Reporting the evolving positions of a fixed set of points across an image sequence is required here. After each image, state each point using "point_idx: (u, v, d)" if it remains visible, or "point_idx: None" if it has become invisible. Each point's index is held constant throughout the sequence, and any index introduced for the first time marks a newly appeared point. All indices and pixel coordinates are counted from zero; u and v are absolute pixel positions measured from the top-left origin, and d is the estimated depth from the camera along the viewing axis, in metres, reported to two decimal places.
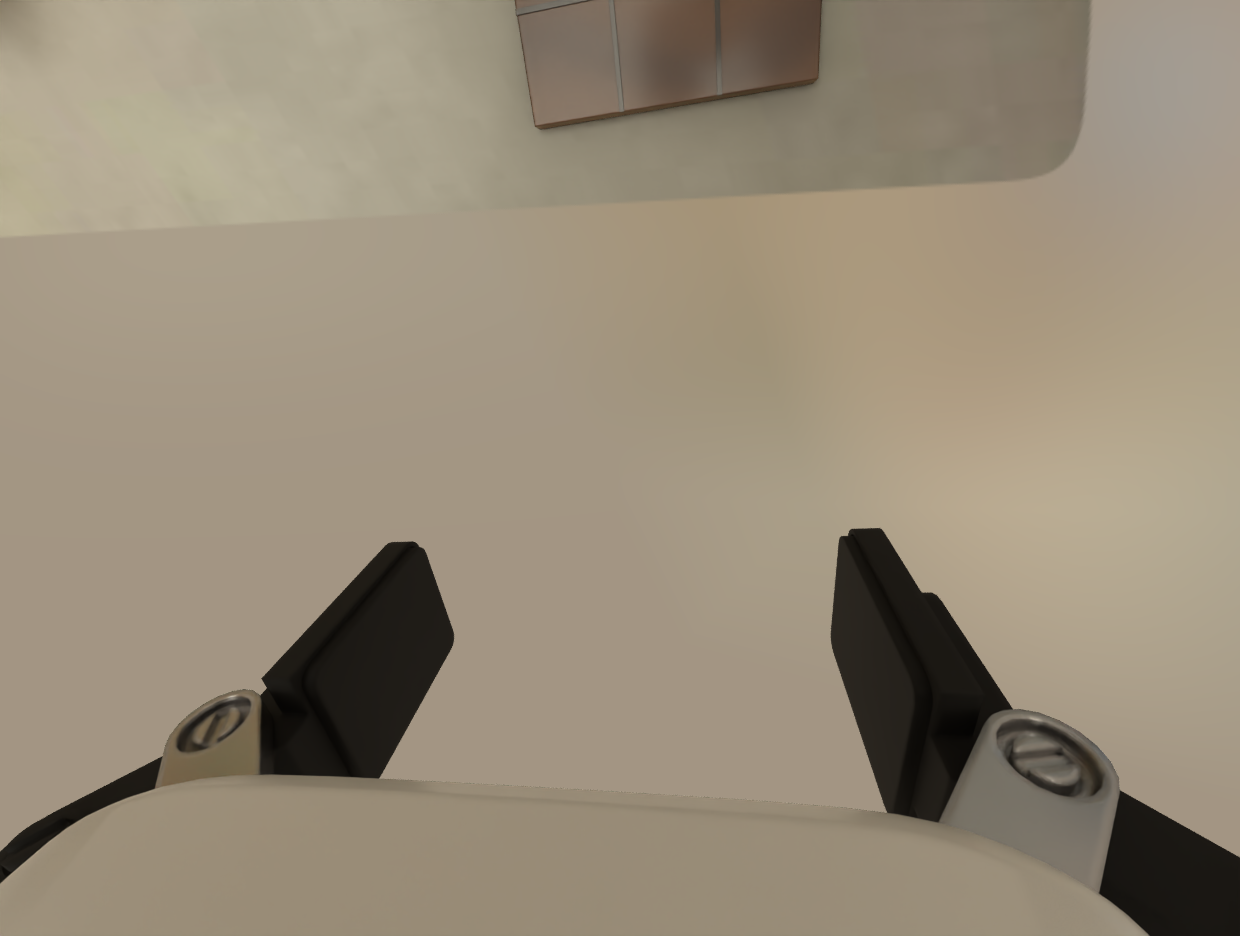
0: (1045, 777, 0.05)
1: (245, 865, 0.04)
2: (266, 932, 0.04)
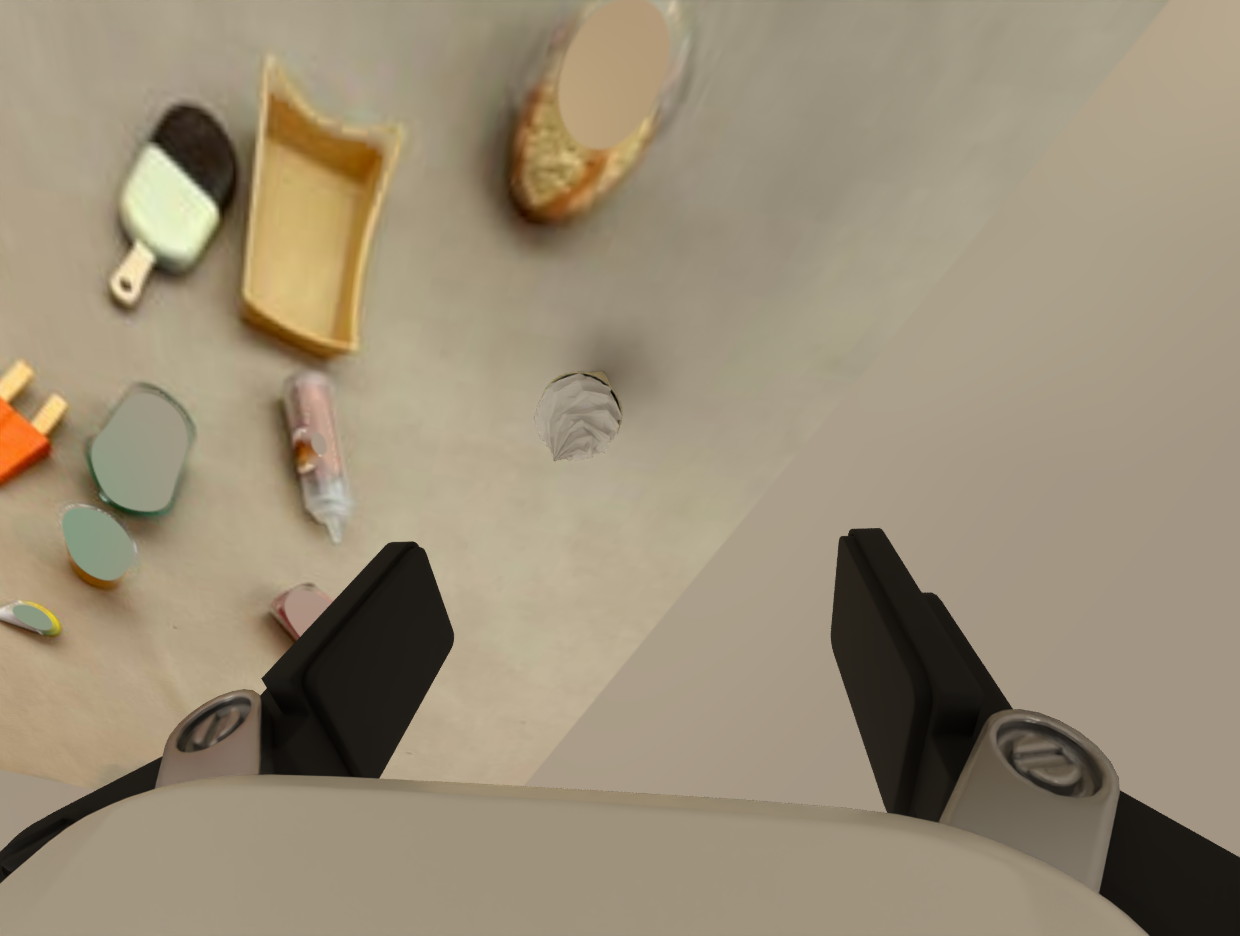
0: (1046, 778, 0.05)
1: (245, 865, 0.04)
2: (266, 932, 0.04)
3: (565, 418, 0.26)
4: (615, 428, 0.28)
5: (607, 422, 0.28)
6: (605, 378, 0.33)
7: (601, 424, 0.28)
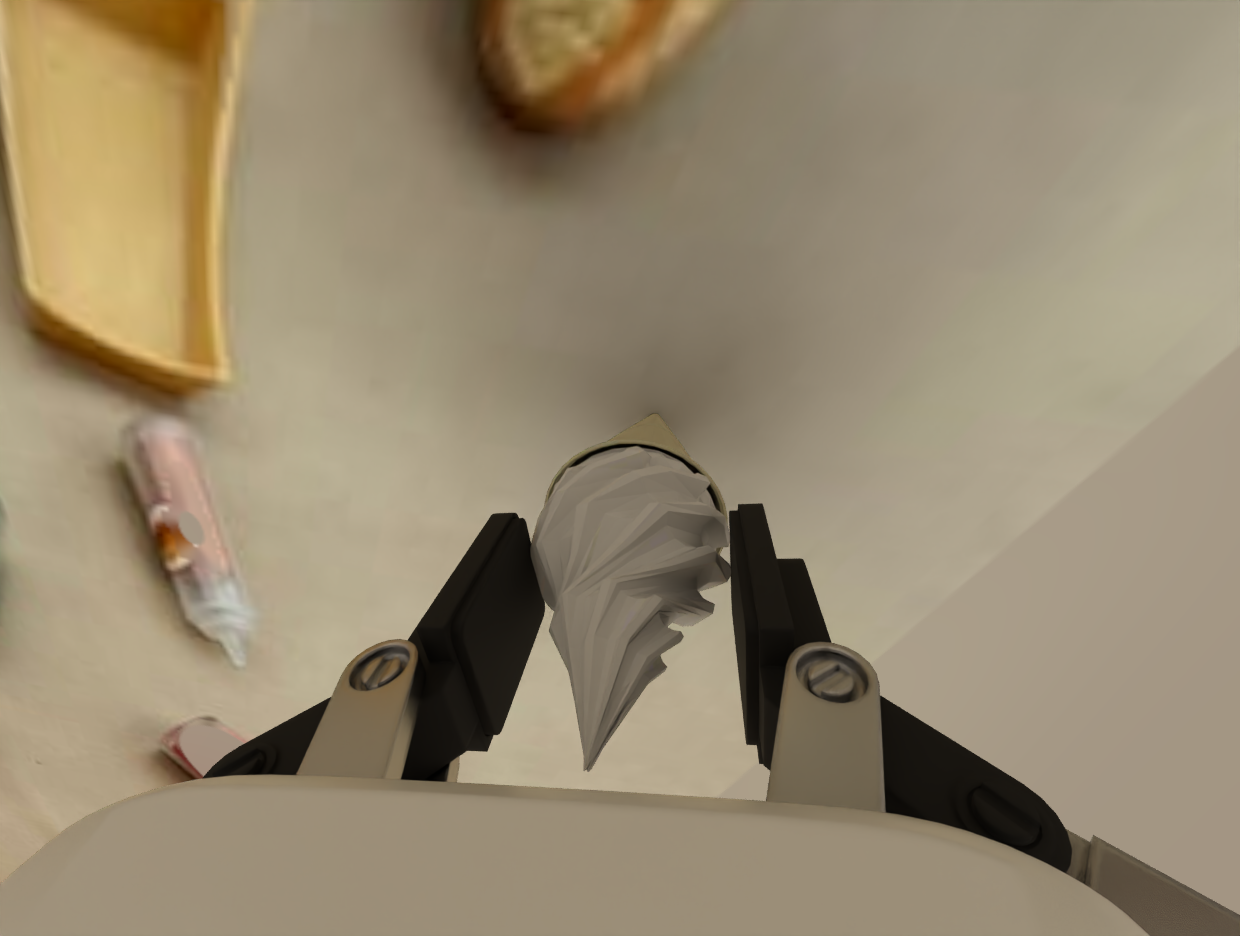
0: (833, 692, 0.07)
1: (245, 865, 0.04)
2: (266, 932, 0.04)
3: (611, 592, 0.09)
4: (724, 579, 0.12)
5: (708, 571, 0.11)
6: (674, 436, 0.17)
7: (695, 578, 0.11)
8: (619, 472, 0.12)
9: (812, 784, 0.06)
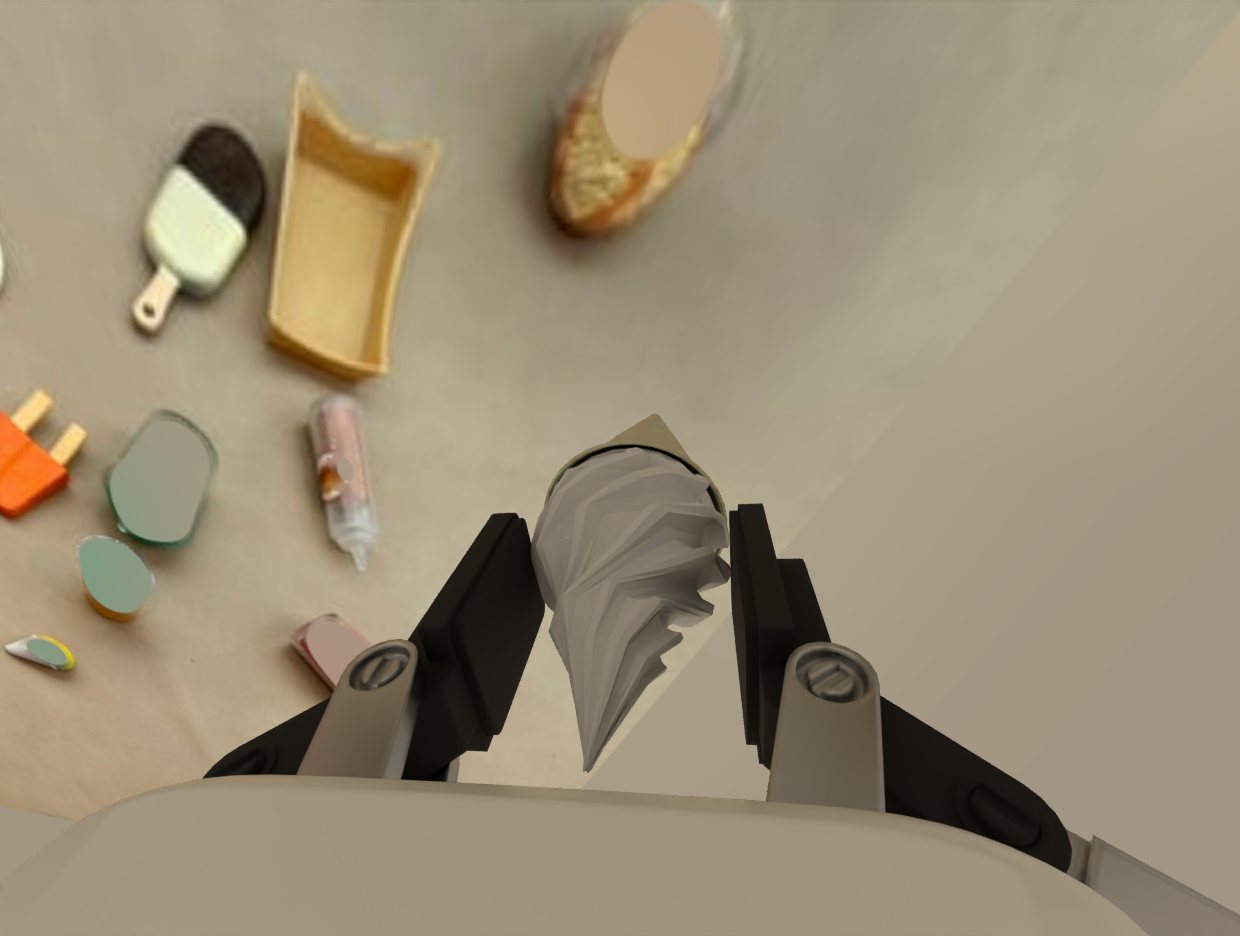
0: (833, 691, 0.07)
1: (245, 865, 0.04)
2: (266, 932, 0.04)
3: (611, 593, 0.09)
4: (724, 580, 0.12)
5: (708, 572, 0.11)
6: (673, 437, 0.17)
7: (694, 579, 0.11)
8: (619, 473, 0.12)
9: (812, 784, 0.06)
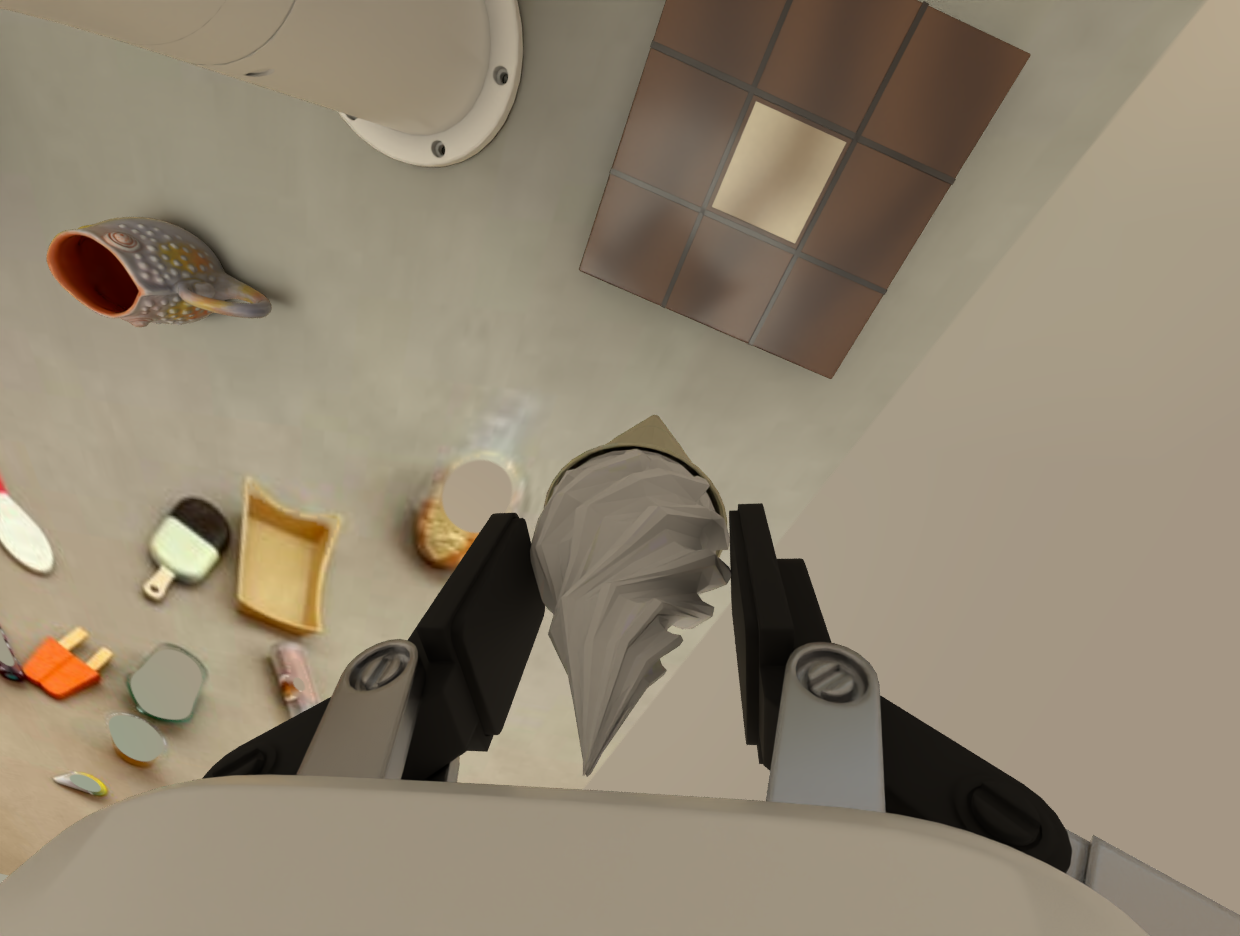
0: (833, 692, 0.07)
1: (245, 865, 0.04)
2: (266, 932, 0.04)
3: (611, 596, 0.09)
4: (724, 582, 0.12)
5: (708, 574, 0.11)
6: (673, 438, 0.17)
7: (694, 581, 0.11)
8: (618, 475, 0.12)
9: (812, 784, 0.06)
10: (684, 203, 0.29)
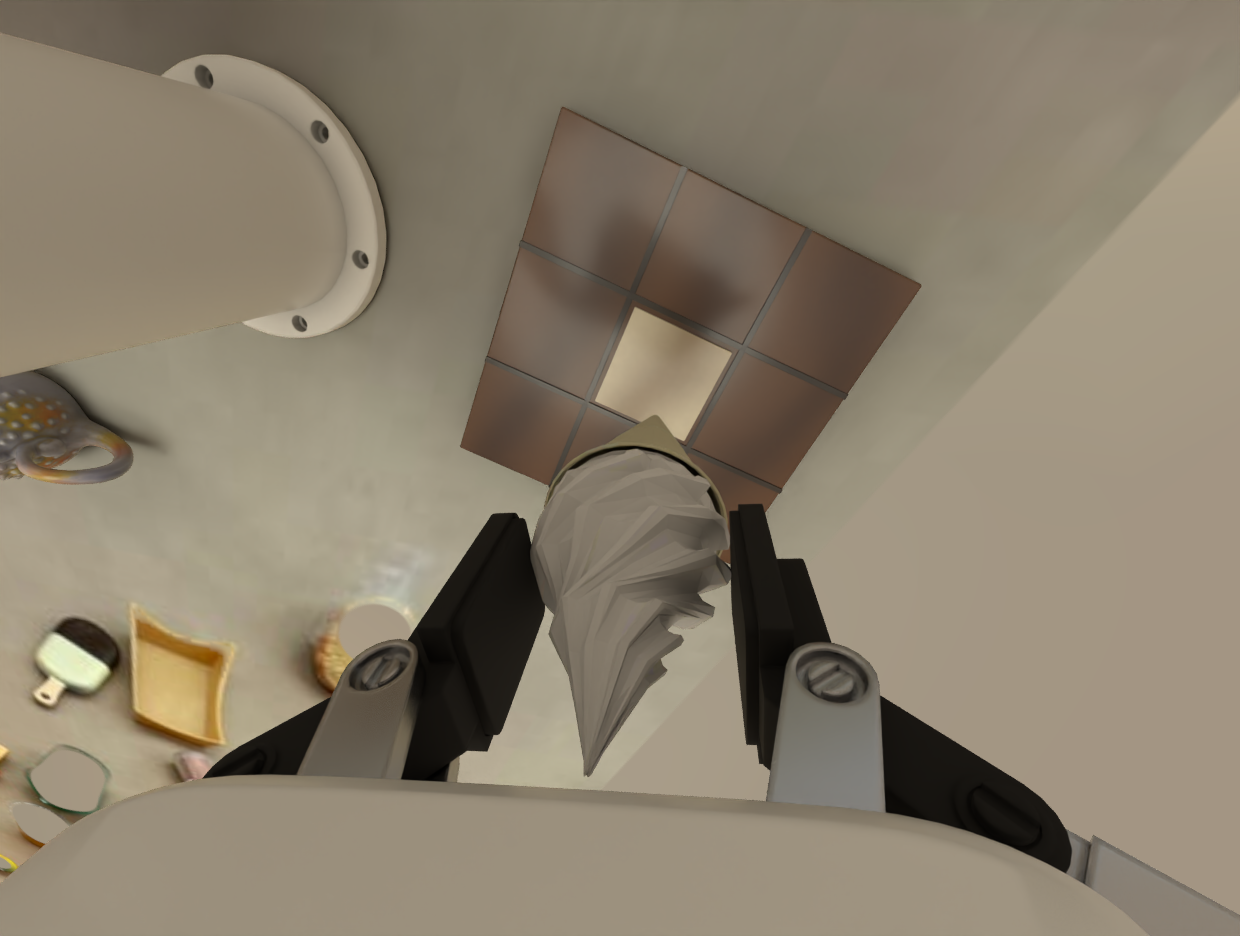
0: (833, 692, 0.07)
1: (245, 865, 0.04)
2: (266, 932, 0.04)
3: (611, 596, 0.09)
4: (724, 582, 0.12)
5: (709, 574, 0.11)
6: (674, 438, 0.17)
7: (695, 581, 0.11)
8: (619, 475, 0.12)
9: (812, 784, 0.06)
10: (566, 394, 0.27)
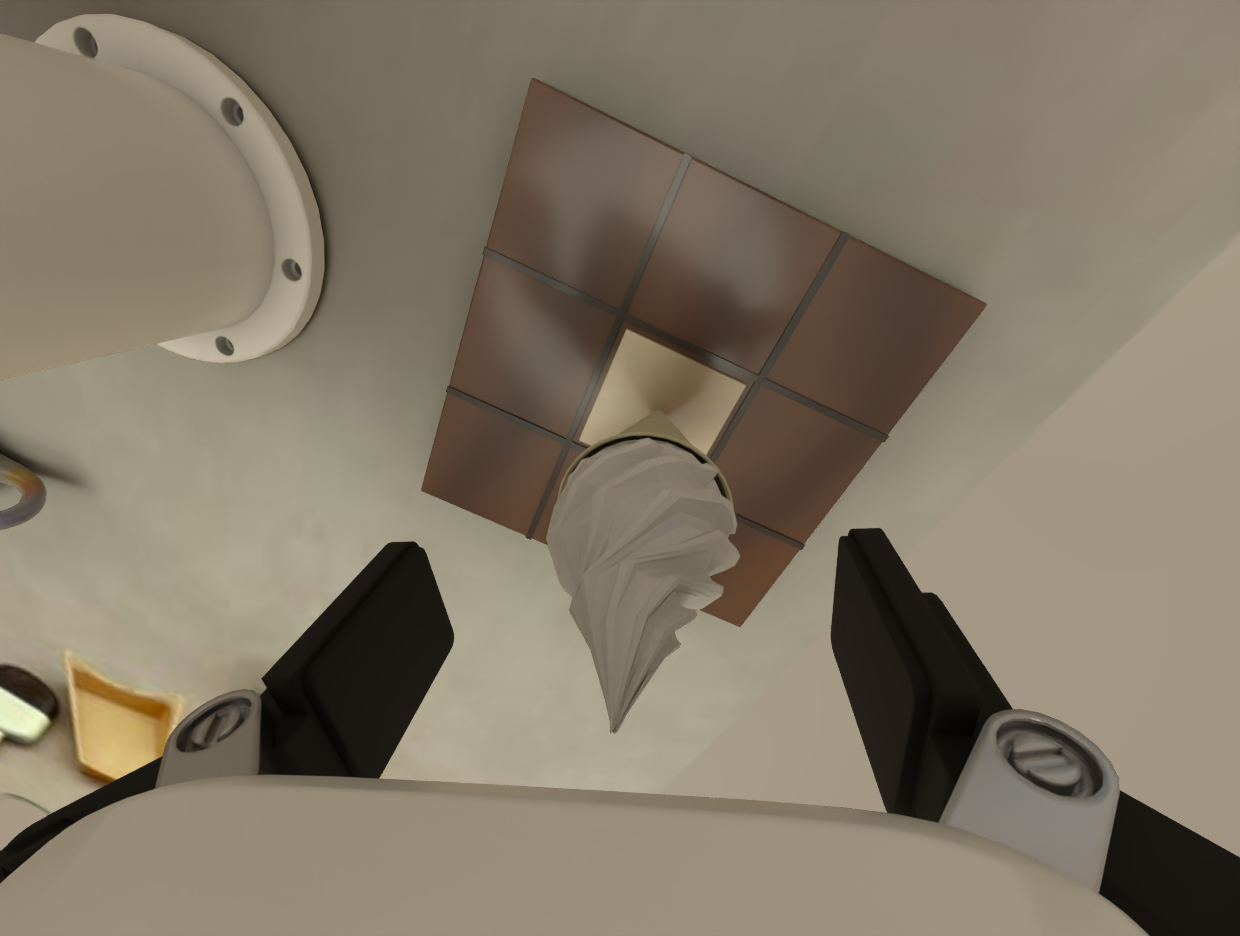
0: (1045, 776, 0.05)
1: (245, 865, 0.04)
2: (266, 932, 0.04)
3: (630, 572, 0.10)
4: (732, 563, 0.12)
5: (718, 555, 0.12)
6: (679, 431, 0.17)
7: (705, 562, 0.12)
8: (632, 462, 0.12)
9: None
10: (544, 432, 0.23)
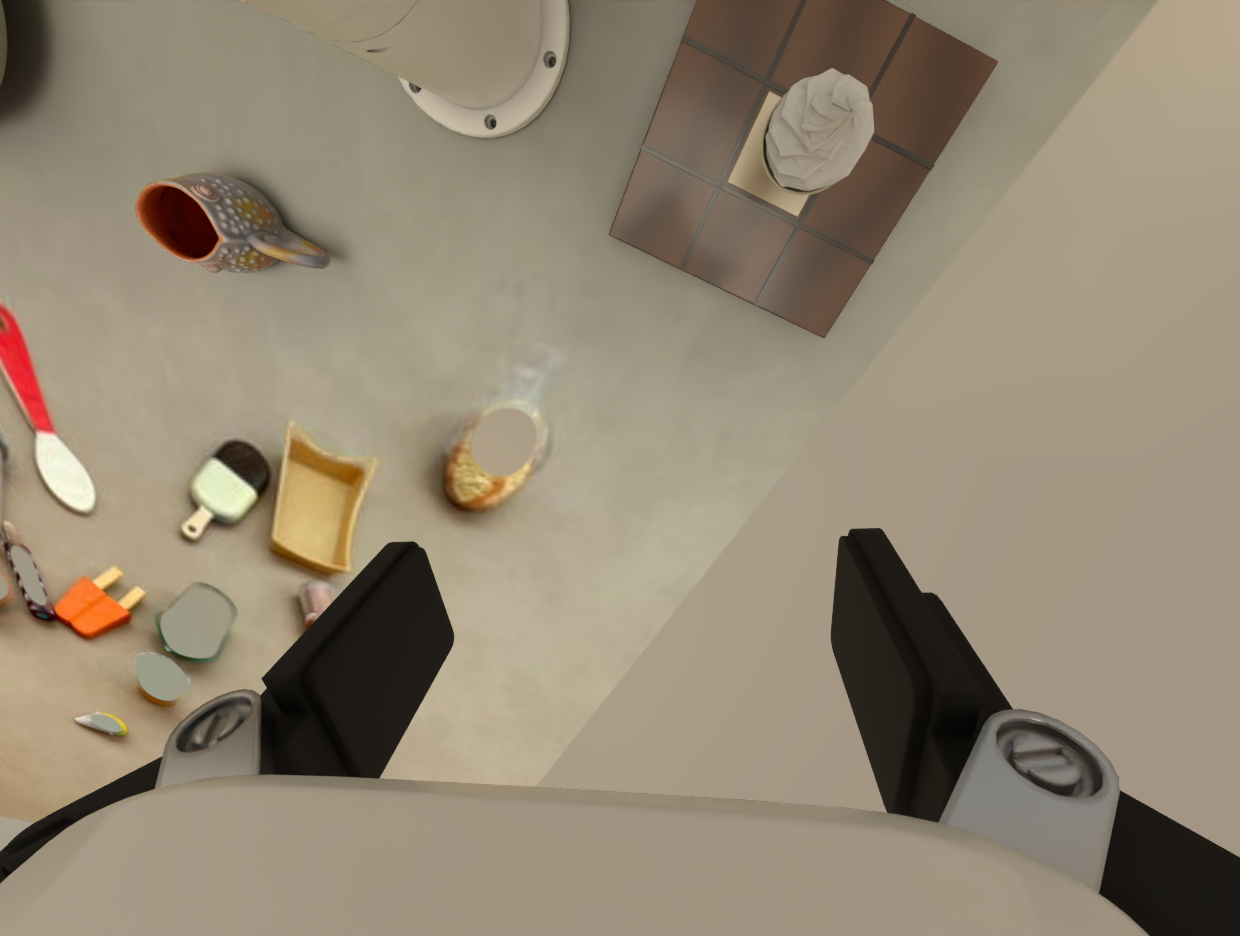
0: (1044, 777, 0.05)
1: (245, 865, 0.04)
2: (266, 932, 0.04)
3: (838, 90, 0.21)
4: (869, 136, 0.24)
5: (865, 123, 0.23)
6: None
7: None
8: None
9: None
10: (703, 178, 0.34)
